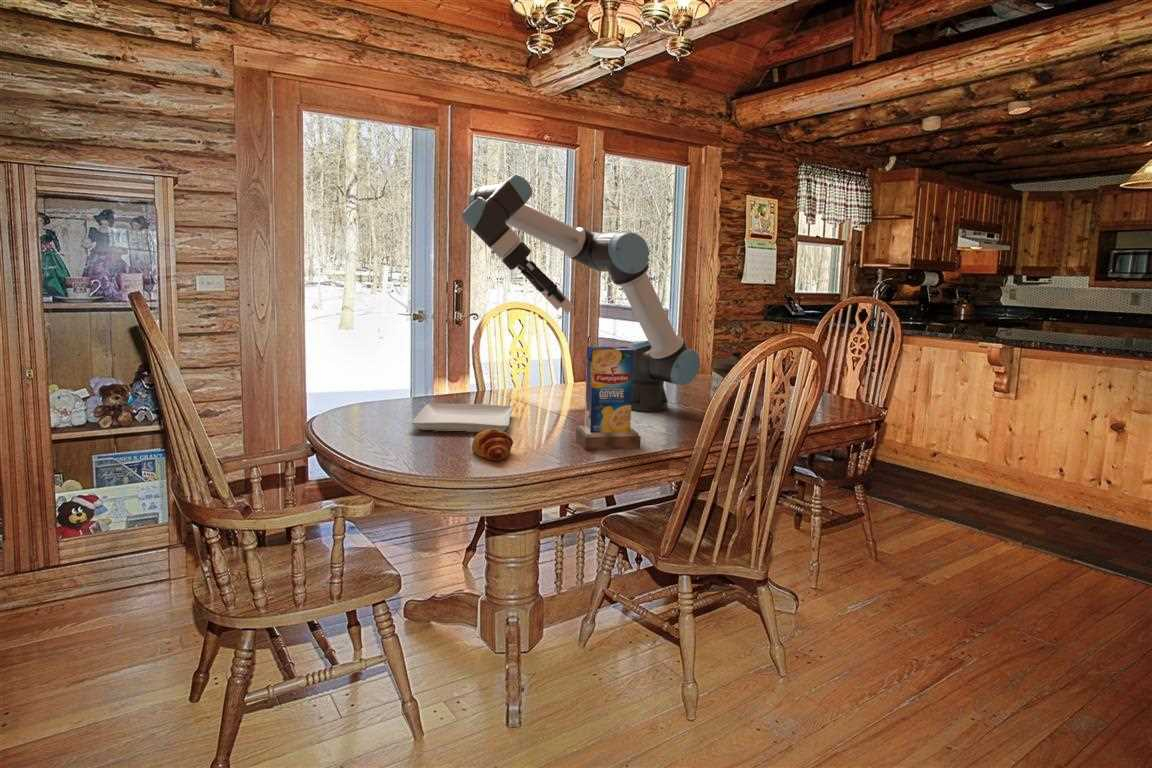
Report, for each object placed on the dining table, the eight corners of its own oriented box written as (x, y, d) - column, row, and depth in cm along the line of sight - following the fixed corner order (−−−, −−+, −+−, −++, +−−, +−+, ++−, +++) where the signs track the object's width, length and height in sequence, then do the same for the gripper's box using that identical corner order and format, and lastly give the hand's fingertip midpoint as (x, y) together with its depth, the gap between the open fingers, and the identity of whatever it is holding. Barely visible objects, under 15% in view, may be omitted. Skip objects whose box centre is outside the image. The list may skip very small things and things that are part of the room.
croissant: (474, 456, 190) (460, 430, 188) (507, 437, 192) (494, 412, 190) (488, 478, 170) (473, 449, 168) (525, 456, 172) (510, 428, 170)
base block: (628, 438, 200) (628, 424, 200) (640, 448, 190) (640, 433, 189) (575, 439, 197) (576, 425, 196) (585, 449, 186) (585, 434, 186)
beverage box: (630, 432, 190) (633, 349, 187) (590, 432, 188) (593, 349, 184) (623, 426, 197) (626, 346, 193) (584, 427, 195) (586, 346, 191)
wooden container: (704, 410, 242) (708, 346, 238) (747, 411, 243) (751, 347, 239) (715, 420, 227) (720, 351, 224) (761, 421, 228) (766, 352, 225)
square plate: (410, 434, 198) (410, 421, 198) (427, 414, 225) (427, 402, 225) (508, 437, 199) (508, 423, 199) (513, 416, 226) (514, 404, 226)
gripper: (495, 259, 200) (547, 314, 205) (506, 260, 176) (565, 322, 181) (514, 241, 200) (565, 296, 206) (528, 238, 176) (586, 301, 182)
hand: (565, 308), depth 194 cm, fingers open, 13 cm apart
